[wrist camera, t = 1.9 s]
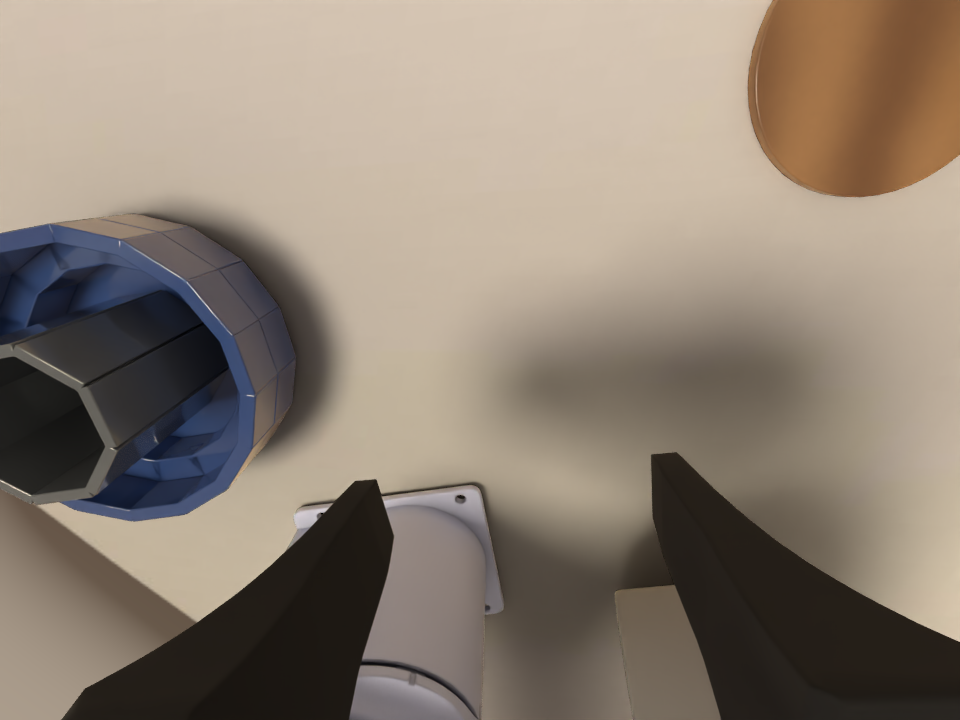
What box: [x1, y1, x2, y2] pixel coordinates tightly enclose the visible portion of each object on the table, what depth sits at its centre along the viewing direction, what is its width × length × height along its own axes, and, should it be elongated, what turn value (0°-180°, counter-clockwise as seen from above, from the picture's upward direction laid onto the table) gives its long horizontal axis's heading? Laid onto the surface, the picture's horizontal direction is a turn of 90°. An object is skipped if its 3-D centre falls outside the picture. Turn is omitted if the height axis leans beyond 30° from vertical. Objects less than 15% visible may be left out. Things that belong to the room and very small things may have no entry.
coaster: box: [748, 0, 960, 197], centre depth 17 cm, size 9×9×1 cm
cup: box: [0, 290, 229, 505], centre depth 19 cm, size 5×5×7 cm
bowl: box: [0, 214, 296, 522], centre depth 20 cm, size 12×12×4 cm
